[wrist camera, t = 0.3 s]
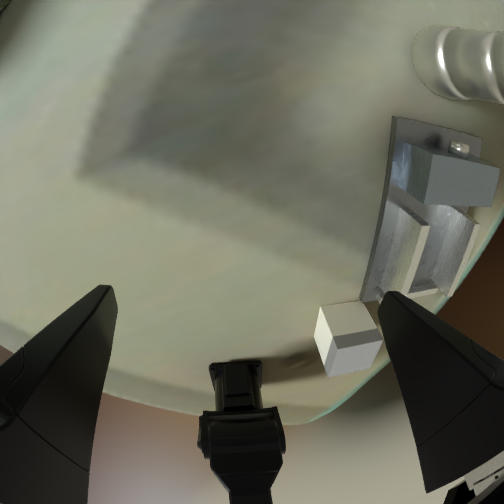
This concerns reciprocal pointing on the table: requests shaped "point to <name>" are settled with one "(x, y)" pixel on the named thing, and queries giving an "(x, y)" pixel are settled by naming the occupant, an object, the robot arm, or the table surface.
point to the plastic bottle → (461, 62)
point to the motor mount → (427, 210)
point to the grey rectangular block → (346, 338)
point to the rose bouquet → (3, 3)
